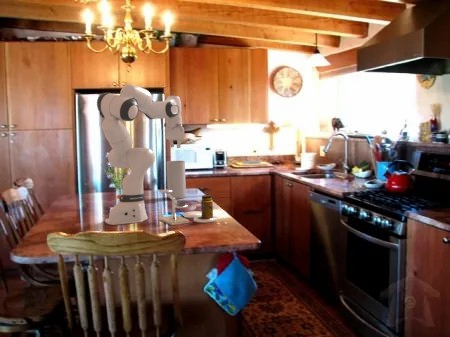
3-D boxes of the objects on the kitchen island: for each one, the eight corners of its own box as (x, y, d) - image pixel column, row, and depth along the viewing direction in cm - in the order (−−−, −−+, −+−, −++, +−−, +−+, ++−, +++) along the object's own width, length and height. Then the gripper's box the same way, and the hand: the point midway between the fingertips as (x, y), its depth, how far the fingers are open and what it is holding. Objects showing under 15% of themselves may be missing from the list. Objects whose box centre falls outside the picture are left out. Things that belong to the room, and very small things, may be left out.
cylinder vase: (165, 197, 323) (164, 161, 320) (182, 195, 328) (181, 160, 326) (171, 199, 312) (169, 162, 309) (188, 198, 317) (187, 161, 314)
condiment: (216, 218, 245) (215, 195, 243) (202, 220, 240) (201, 197, 239) (209, 215, 251) (208, 193, 249) (195, 218, 246) (194, 195, 245)
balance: (175, 227, 230) (174, 196, 229) (156, 218, 253) (155, 190, 252) (193, 224, 235) (192, 194, 234) (173, 215, 258) (172, 188, 256)
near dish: (200, 223, 236) (200, 221, 236) (189, 219, 248) (189, 217, 248) (222, 220, 243) (222, 218, 243) (211, 216, 254) (210, 214, 254)
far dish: (188, 218, 249) (188, 217, 249) (178, 214, 260) (178, 213, 260) (209, 215, 255) (209, 214, 255) (199, 212, 267) (199, 210, 267)
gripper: (186, 123, 262) (187, 148, 263) (172, 123, 280) (173, 146, 281) (176, 123, 259) (177, 148, 260) (162, 124, 277) (163, 147, 278)
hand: (175, 147), depth 271 cm, fingers open, 8 cm apart
